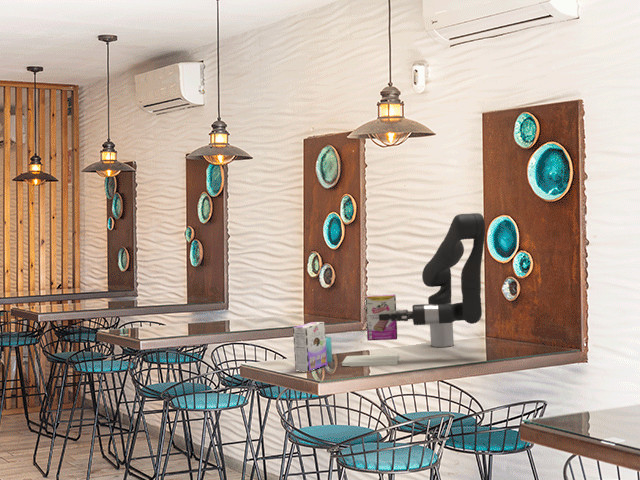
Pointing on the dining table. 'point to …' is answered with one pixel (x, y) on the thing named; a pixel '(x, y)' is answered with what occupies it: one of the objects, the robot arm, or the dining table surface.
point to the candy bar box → (373, 310)
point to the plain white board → (371, 360)
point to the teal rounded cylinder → (329, 349)
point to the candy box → (310, 346)
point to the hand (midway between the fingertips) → (379, 316)
